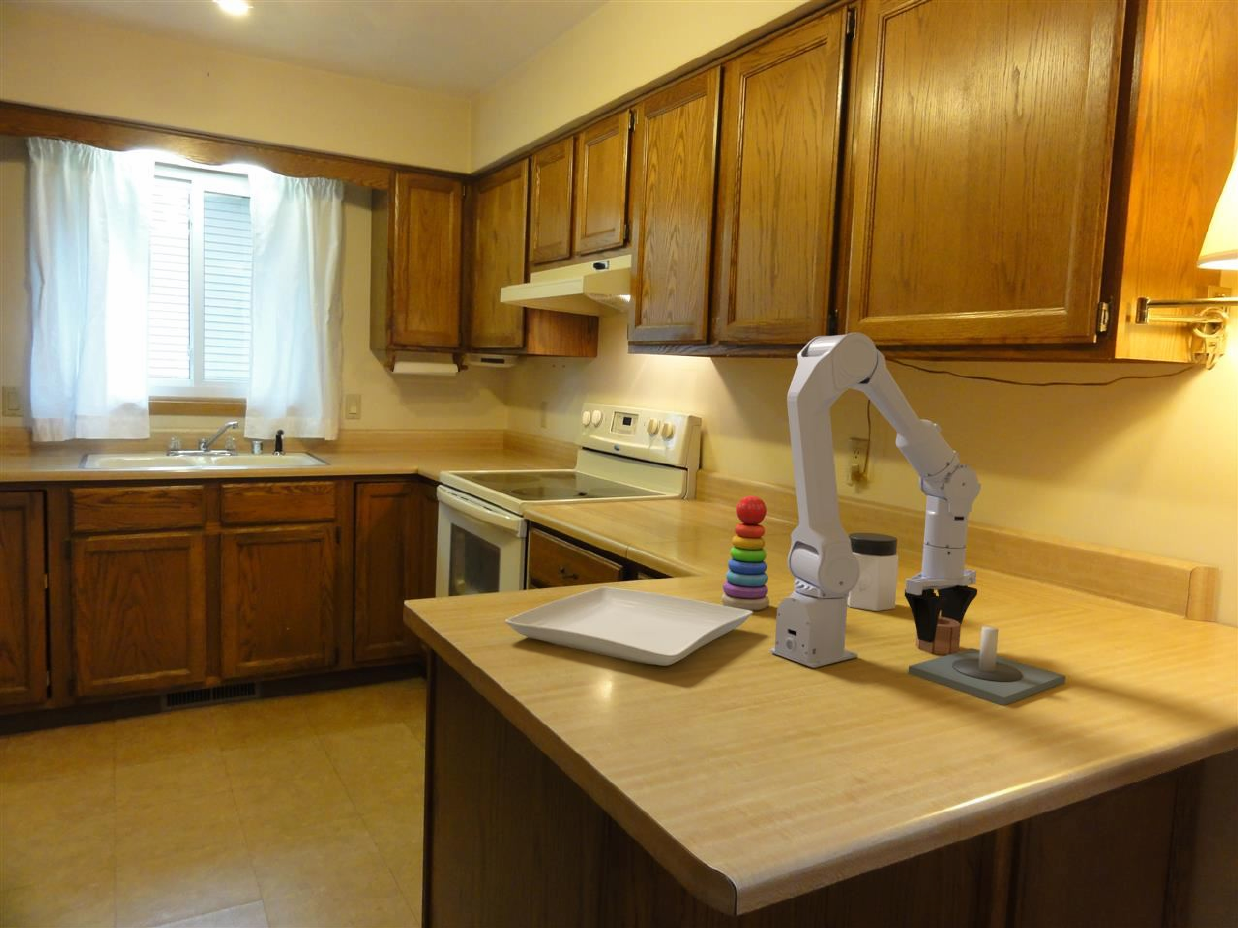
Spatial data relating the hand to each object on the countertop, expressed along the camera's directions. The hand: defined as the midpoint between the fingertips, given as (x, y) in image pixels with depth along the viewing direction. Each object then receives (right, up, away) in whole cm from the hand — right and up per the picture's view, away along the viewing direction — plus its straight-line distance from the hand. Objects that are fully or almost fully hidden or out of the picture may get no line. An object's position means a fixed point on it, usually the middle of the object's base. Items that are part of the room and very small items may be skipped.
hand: (937, 637), depth 122 cm
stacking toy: (-25, +1, +20) cm, 32 cm away
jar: (-3, 0, +24) cm, 24 cm away
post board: (+2, -3, -12) cm, 13 cm away
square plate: (-44, -1, +1) cm, 44 cm away
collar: (0, -2, 0) cm, 2 cm away
